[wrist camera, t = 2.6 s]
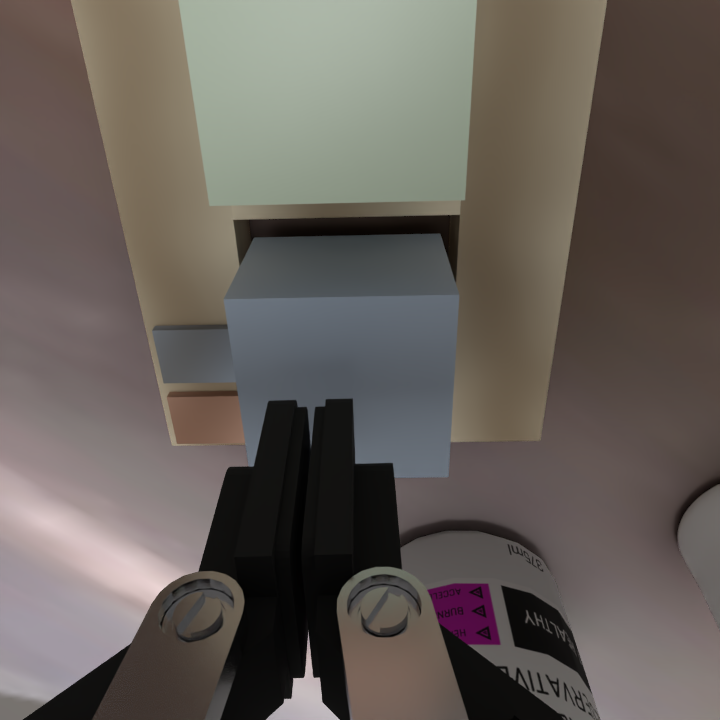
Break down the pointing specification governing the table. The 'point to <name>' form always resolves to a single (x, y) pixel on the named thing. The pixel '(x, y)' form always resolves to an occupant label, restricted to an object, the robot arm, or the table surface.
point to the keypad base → (356, 209)
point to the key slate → (351, 340)
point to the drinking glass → (703, 546)
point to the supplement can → (504, 612)
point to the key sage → (331, 98)
